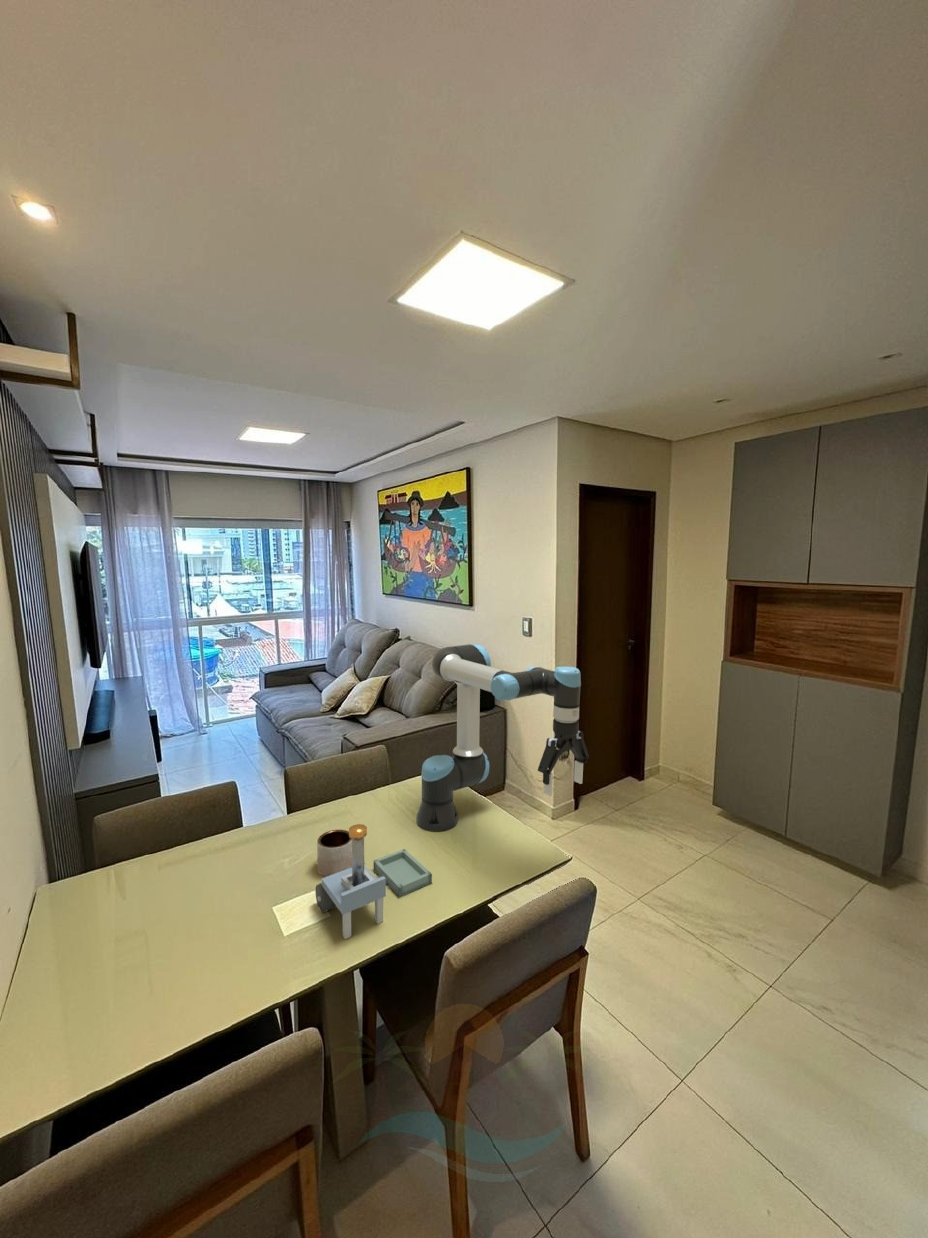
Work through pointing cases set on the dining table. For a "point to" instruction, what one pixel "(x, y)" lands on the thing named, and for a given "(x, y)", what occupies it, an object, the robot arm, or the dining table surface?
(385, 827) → the dining table surface
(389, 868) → the tray
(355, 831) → the orange and grey cylinder
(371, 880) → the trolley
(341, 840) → the planter
